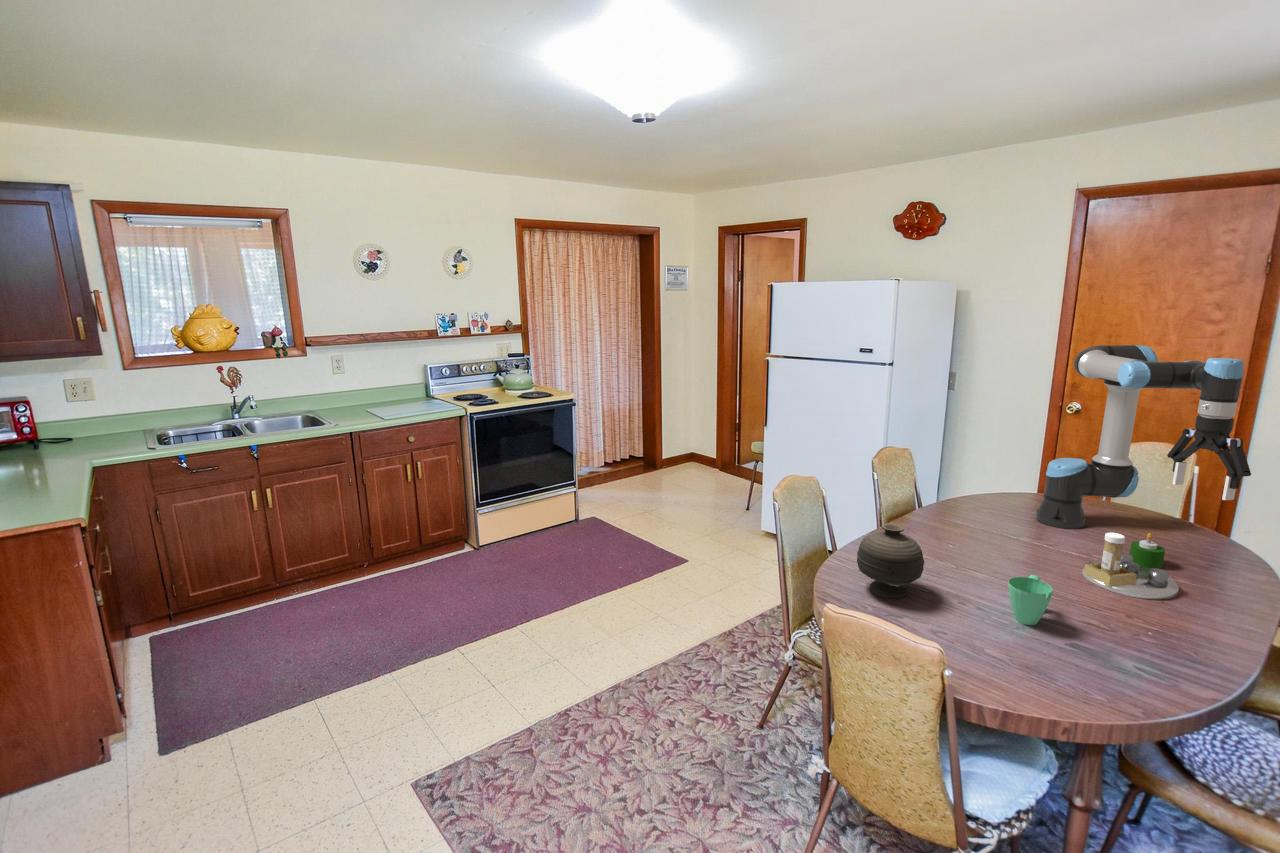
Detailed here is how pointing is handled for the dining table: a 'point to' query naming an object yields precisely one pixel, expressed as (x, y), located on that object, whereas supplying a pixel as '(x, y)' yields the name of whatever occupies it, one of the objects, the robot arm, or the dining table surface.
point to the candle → (1147, 553)
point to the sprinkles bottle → (1112, 553)
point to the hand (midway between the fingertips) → (1201, 491)
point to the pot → (890, 561)
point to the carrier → (1132, 580)
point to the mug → (1029, 598)
